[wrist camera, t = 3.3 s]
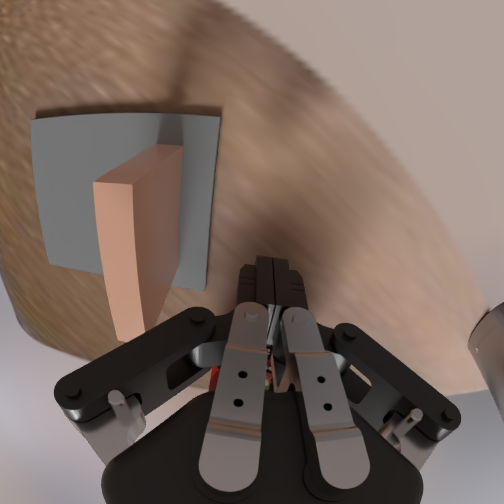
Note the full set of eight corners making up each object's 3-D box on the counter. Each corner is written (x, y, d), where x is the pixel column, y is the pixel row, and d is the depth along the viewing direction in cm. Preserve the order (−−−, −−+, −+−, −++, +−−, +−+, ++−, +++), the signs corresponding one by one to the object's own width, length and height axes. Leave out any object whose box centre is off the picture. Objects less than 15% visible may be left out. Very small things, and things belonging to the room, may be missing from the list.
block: (183, 145, 17) (132, 184, 10) (178, 266, 22) (147, 346, 15) (156, 144, 17) (92, 181, 10) (156, 263, 21) (118, 340, 15)
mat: (221, 116, 17) (220, 117, 16) (206, 286, 23) (205, 291, 23) (35, 118, 16) (30, 120, 15) (52, 260, 23) (49, 263, 22)
